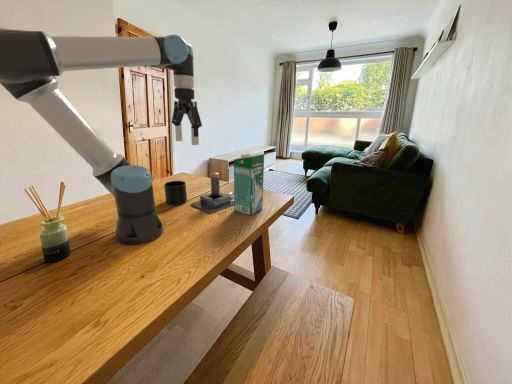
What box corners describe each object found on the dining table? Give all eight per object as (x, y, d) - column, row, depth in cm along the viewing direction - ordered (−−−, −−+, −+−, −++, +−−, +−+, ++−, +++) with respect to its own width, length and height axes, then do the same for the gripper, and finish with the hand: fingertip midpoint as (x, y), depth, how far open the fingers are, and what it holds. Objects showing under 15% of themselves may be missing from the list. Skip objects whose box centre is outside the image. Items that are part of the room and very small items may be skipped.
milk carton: (246, 204, 115) (247, 151, 107) (262, 209, 110) (264, 153, 102) (234, 210, 108) (233, 153, 100) (250, 215, 103) (251, 156, 95)
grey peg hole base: (210, 213, 104) (209, 205, 103) (190, 205, 113) (190, 197, 111) (245, 200, 120) (245, 192, 119) (226, 193, 129) (226, 186, 127)
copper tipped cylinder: (213, 204, 112) (212, 174, 108) (210, 201, 115) (209, 172, 111) (221, 202, 114) (220, 173, 109) (218, 200, 117) (217, 171, 113)
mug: (191, 197, 123) (190, 179, 120) (182, 206, 111) (180, 187, 108) (173, 196, 124) (172, 178, 121) (162, 204, 112) (160, 186, 109)
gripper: (210, 88, 90) (211, 146, 97) (178, 90, 107) (180, 139, 114) (192, 85, 85) (194, 147, 92) (161, 88, 102) (165, 140, 109)
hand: (186, 143), depth 103 cm, fingers open, 13 cm apart
